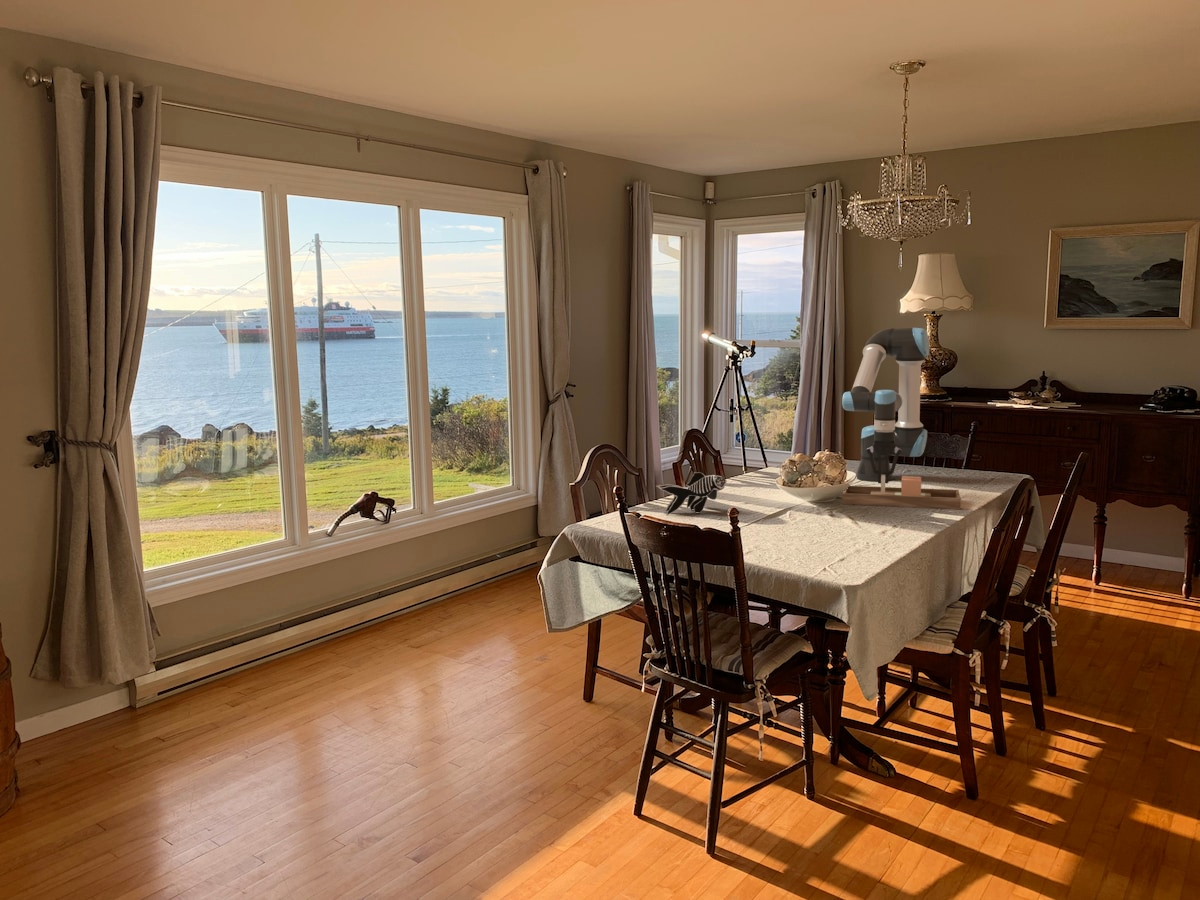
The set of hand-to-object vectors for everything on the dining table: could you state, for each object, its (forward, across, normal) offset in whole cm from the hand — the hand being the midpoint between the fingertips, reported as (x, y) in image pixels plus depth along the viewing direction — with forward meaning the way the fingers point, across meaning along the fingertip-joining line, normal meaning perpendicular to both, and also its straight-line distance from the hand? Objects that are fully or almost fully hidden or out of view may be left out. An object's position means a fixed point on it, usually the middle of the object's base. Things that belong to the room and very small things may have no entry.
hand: (882, 491), depth 346 cm
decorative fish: (+4, -68, -33) cm, 75 cm away
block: (+1, +10, 0) cm, 10 cm away
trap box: (+4, +6, 0) cm, 7 cm away
